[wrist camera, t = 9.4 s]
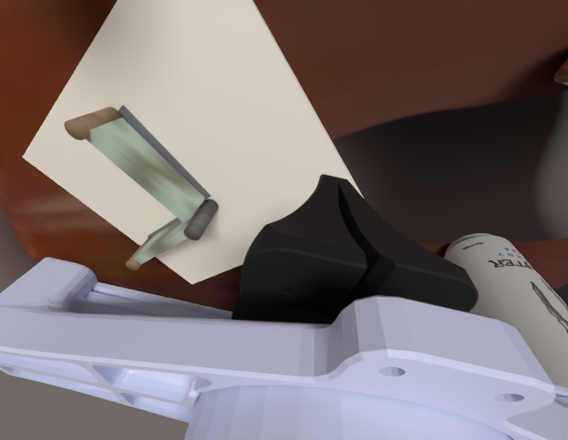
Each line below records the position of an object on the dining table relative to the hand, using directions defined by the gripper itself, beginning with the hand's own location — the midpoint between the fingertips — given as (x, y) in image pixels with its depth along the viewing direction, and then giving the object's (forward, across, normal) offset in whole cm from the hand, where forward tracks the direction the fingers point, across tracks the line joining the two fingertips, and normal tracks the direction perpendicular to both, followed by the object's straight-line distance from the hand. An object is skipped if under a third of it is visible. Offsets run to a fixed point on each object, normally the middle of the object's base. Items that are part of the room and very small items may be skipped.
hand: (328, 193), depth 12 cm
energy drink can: (+10, -18, +8) cm, 22 cm away
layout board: (+9, +12, +8) cm, 17 cm away
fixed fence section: (+9, +14, +14) cm, 21 cm away
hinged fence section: (+8, +15, +5) cm, 18 cm away
